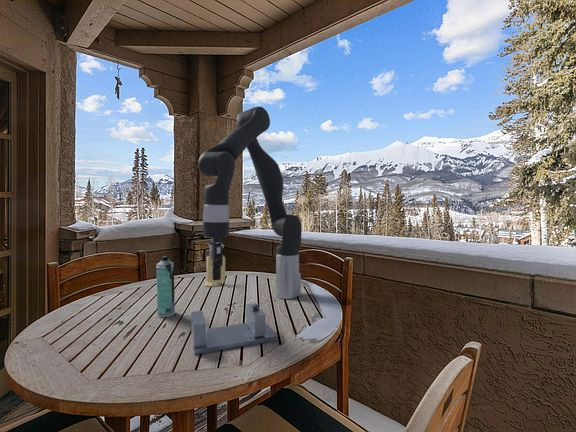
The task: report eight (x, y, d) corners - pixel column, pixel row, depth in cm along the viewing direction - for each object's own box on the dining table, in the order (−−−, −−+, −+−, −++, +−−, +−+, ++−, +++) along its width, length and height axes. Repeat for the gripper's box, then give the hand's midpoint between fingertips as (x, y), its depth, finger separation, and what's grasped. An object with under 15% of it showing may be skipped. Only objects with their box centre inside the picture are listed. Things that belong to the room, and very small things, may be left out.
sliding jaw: (255, 322, 94) (255, 299, 94) (265, 335, 85) (265, 310, 84) (246, 323, 93) (246, 300, 93) (254, 337, 84) (254, 312, 83)
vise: (264, 324, 96) (264, 301, 96) (276, 340, 85) (276, 315, 85) (191, 335, 88) (190, 310, 88) (194, 354, 77) (193, 326, 77)
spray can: (178, 312, 106) (177, 255, 105) (167, 318, 101) (165, 258, 100) (165, 310, 108) (164, 254, 107) (153, 316, 103) (152, 257, 102)
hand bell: (208, 281, 146) (208, 248, 145) (225, 282, 145) (224, 249, 144) (201, 286, 138) (200, 251, 137) (218, 287, 137) (218, 252, 136)
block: (223, 278, 93) (223, 255, 93) (225, 281, 89) (225, 257, 89) (206, 279, 92) (206, 256, 91) (207, 282, 88) (207, 258, 88)
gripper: (232, 221, 84) (232, 283, 85) (225, 219, 98) (225, 272, 98) (204, 221, 82) (204, 285, 83) (201, 219, 95) (201, 273, 96)
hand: (215, 277), depth 90 cm, fingers closed on block, 4 cm apart
